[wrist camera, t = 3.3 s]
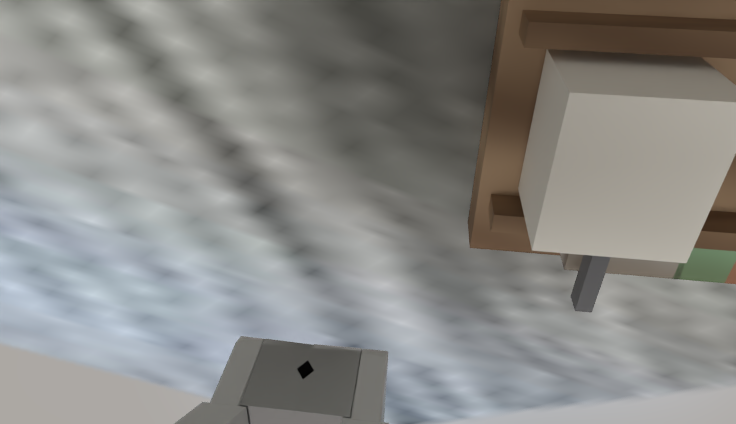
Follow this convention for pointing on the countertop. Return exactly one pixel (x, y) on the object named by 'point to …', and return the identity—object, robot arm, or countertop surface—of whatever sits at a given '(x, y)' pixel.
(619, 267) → the gauge bed
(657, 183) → the cream rectangular block
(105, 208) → the countertop surface
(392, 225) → the countertop surface
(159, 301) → the countertop surface
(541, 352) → the countertop surface
